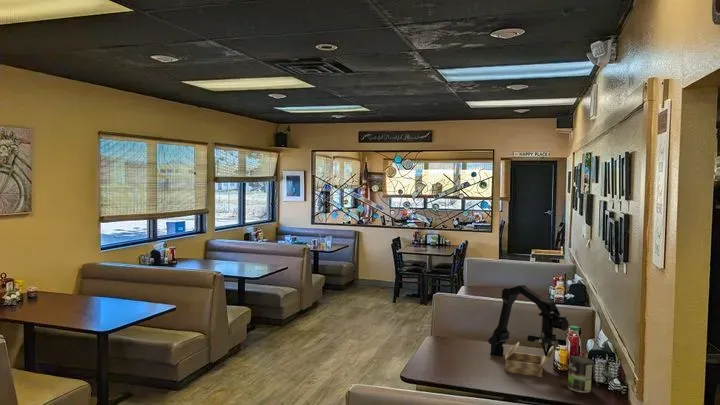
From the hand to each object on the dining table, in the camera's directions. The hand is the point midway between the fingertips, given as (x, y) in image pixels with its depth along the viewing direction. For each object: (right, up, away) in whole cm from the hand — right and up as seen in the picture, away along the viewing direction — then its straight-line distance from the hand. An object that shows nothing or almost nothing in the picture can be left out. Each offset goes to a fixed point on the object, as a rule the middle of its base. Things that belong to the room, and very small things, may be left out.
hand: (545, 356), depth 273 cm
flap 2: (+1, +1, 0) cm, 1 cm away
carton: (-10, -8, +4) cm, 13 cm away
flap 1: (-15, +1, +6) cm, 16 cm away
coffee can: (+9, -10, -20) cm, 24 cm away
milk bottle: (+21, -9, +18) cm, 29 cm away
